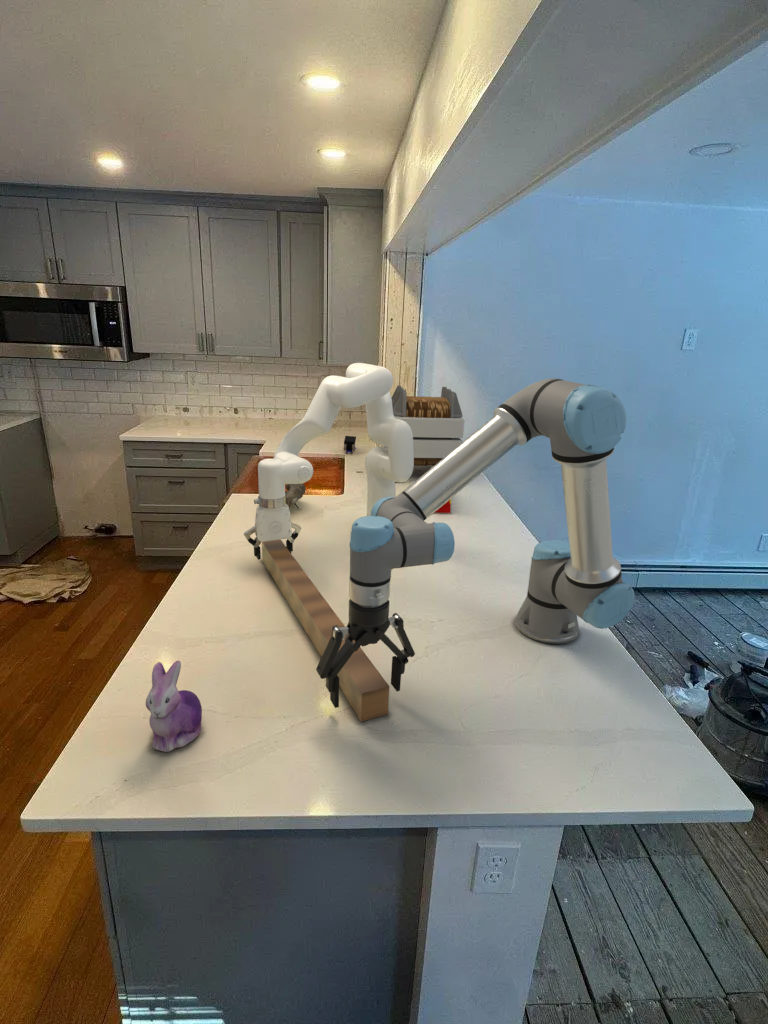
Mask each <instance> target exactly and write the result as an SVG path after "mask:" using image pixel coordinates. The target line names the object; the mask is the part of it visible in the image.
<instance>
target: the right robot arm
mask: <svg viewBox="0 0 768 1024" xmlns="http://www.w3.org/2000/svg"><path fill="white" fill-rule="evenodd" d="M626 426H627V414H626V409H625V406H624V404H623V402H622V400H621V399H620V397H618V395H617V394H615V393H614V392H613V391H611V390H609V389H606V388H603V387H601V386H598V385H596V384H595V385H594V384H591V383H589V384H588V383H587V384H585V383H579V382H575V381H569V380H565V379H561V378H554V377H553V378H546V379H541V380H538V381H536V382H533V383H531V384H529V385H527V386H526V387H524V388H522V389H521V390H519V391H517V392H516V393H515V394H513V395H511V396H510V397H508V398H507V399H506V400H505V401H504V402H502V403H501V404H500V405H498V406H497V407H496V408H495V409H494V410H493V417H491V418H490V419H489V420H488V421H487V422H486V423H484V424H483V425H482V426H480V427H479V428H478V429H477V430H476V431H475V432H473V433H472V434H471V435H470V436H468V437H467V438H466V439H465V440H464V441H463V443H461V444H460V445H459V446H458V447H457V448H455V449H454V450H453V451H452V452H450V453H449V454H448V455H447V456H446V457H444V458H443V459H442V460H441V461H439V462H438V463H437V464H436V465H435V466H431V468H429V469H428V470H427V471H426V472H424V473H425V474H422V475H421V476H419V477H418V478H417V479H416V480H415V481H414V482H413V483H412V484H410V485H409V486H408V487H406V488H405V489H404V490H403V491H402V492H400V493H399V494H398V495H397V496H395V498H393V497H385V498H381V499H380V500H378V501H377V502H376V503H375V504H374V506H373V508H372V511H371V516H367V515H365V516H360V517H358V518H356V519H355V520H354V521H353V523H352V524H351V531H350V537H349V538H350V539H349V585H348V590H349V591H348V598H349V599H348V622H347V625H346V626H345V627H341V628H339V627H338V626H337V625H335V626H333V627H332V634H331V638H330V640H329V642H328V644H327V647H326V649H325V651H324V653H323V655H322V657H321V656H320V660H319V662H318V664H317V665H316V668H315V670H316V672H317V674H318V676H319V678H320V679H322V680H324V679H325V687H326V690H327V691H328V693H329V700H330V702H331V704H332V705H333V707H334V709H336V708H339V707H340V687H339V677H338V676H337V674H338V673H339V672H340V670H341V669H342V667H343V666H344V665H345V663H346V662H347V661H348V659H349V658H350V657H351V655H352V654H353V653H354V652H355V651H357V650H358V649H359V647H361V648H362V647H366V646H368V645H375V644H378V642H379V641H381V642H382V643H383V644H384V645H385V646H386V647H387V648H388V649H389V650H390V651H391V652H392V653H393V654H394V655H393V656H392V657H391V671H390V672H391V674H390V685H391V686H392V687H393V689H394V690H395V692H400V691H401V682H402V681H401V680H402V675H403V674H405V673H406V672H405V671H406V665H407V664H408V663H409V658H413V657H415V655H416V652H415V650H414V648H413V645H412V643H411V640H410V639H409V637H408V635H407V632H406V630H405V628H404V627H405V625H404V619H403V618H402V617H401V615H399V614H398V613H397V612H394V613H393V614H392V615H391V617H390V595H391V579H392V570H395V569H402V568H408V567H409V568H410V567H419V566H428V565H431V566H432V565H435V564H439V563H444V562H447V561H449V560H451V558H452V557H453V555H454V552H455V545H456V543H455V535H454V532H453V530H452V528H451V527H450V525H448V524H447V523H446V522H436V521H433V522H430V523H428V522H426V520H427V519H428V518H429V517H430V516H432V515H433V514H434V512H435V511H437V510H438V509H439V508H440V507H441V506H443V505H444V504H445V503H446V502H447V501H449V500H450V499H451V500H452V498H454V497H455V496H456V495H458V493H460V492H461V491H462V490H463V489H465V488H466V487H468V486H469V485H470V484H471V483H472V482H473V481H474V480H475V479H477V478H478V477H480V475H481V474H483V473H484V472H486V470H488V469H489V468H490V467H491V466H492V465H494V464H495V463H496V462H498V460H500V459H501V458H503V456H505V455H506V454H507V453H509V452H510V451H511V450H512V449H513V448H514V447H516V446H524V445H526V444H527V443H528V442H529V441H531V440H532V439H534V438H537V437H540V436H543V437H546V438H548V439H549V440H550V450H551V458H552V459H553V460H554V461H555V462H557V463H558V464H559V465H560V468H561V470H560V471H561V479H562V489H563V497H564V509H565V516H566V525H567V526H566V527H567V535H568V541H567V540H558V539H557V540H556V539H555V540H554V539H553V540H544V541H541V542H539V543H537V544H536V545H535V546H534V548H533V551H532V552H533V553H532V556H531V561H530V570H529V579H528V585H527V593H526V597H525V598H524V600H523V602H522V604H521V606H520V608H519V610H518V612H517V615H516V616H515V617H516V618H515V626H516V628H517V630H518V631H519V632H520V633H521V634H522V635H524V636H526V637H527V638H529V639H531V640H534V641H536V642H540V643H543V644H549V645H561V644H562V645H564V644H568V643H571V642H573V641H574V640H576V638H577V637H578V635H579V620H578V618H580V619H581V620H583V622H584V623H587V624H589V625H591V626H592V627H594V628H596V629H601V630H604V629H609V628H611V627H614V626H616V625H617V624H619V623H620V622H621V621H622V620H624V618H626V616H627V615H628V614H629V612H630V611H631V609H632V607H633V606H634V602H635V591H634V588H632V586H630V584H629V583H628V582H624V581H623V577H622V575H623V573H622V565H621V562H620V561H619V559H617V558H616V557H614V555H613V539H612V523H611V509H610V493H609V479H608V464H607V463H608V462H607V460H608V458H610V457H611V456H612V455H613V453H614V452H615V447H616V446H617V445H618V444H619V442H620V441H621V439H622V436H621V435H622V434H623V433H625V430H626ZM390 626H391V627H392V628H393V629H394V631H395V633H396V635H397V638H398V640H399V642H400V644H401V647H402V648H403V649H400V648H399V647H398V646H397V645H396V643H394V642H393V641H392V640H391V638H390V637H389V636H388V635H387V634H386V632H387V631H388V629H389V628H390ZM346 634H349V635H348V636H347V638H346V639H345V638H344V637H345V635H346ZM344 639H345V643H344V645H343V646H342V647H341V649H340V650H339V648H340V646H341V643H342V640H344ZM353 640H354V641H355V643H353ZM338 650H339V651H338ZM337 652H338V653H337Z"/></svg>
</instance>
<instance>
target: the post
mask: <svg viewBox="0 0 768 1024" xmlns="http://www.w3.org/2000/svg"><path fill="white" fill-rule="evenodd" d="M261 551H262V552H261V553H262V554H261V557H262V558H261V560H262V563H263V564H264V566H265V567H266V569H267V570H268V572H269V574H270V576H271V577H272V579H273V581H274V583H275V584H276V586H277V587H278V589H279V591H280V592H281V593H282V595H283V597H284V599H285V600H286V602H287V603H288V605H289V607H290V608H291V610H292V612H293V614H294V615H295V616H296V618H297V620H298V621H299V623H300V625H301V626H302V628H303V630H304V631H305V633H306V634H307V636H308V639H310V641H311V643H312V645H313V646H314V648H315V649H316V651H317V653H318V654H319V655H320V658H321V657H322V655H323V653H324V651H325V649H326V647H327V644H328V642H329V640H330V638H331V634H332V627H333V626H335V625H337V626H338V627H339V628H341V627H346V626H345V624H344V623H343V622H342V620H341V619H340V618H339V616H338V615H337V613H336V612H335V611H334V609H333V608H332V607H331V605H330V604H329V603H328V601H327V600H326V598H325V597H324V596H323V595H322V593H321V592H320V591H319V589H318V588H317V587H316V585H315V583H314V582H313V581H312V580H311V578H310V577H309V576H308V575H307V573H306V572H305V570H304V569H303V567H302V566H301V564H299V562H298V561H297V559H296V558H295V557H294V555H293V554H292V552H291V553H290V552H289V550H288V549H287V548H286V544H285V543H284V542H283V541H282V539H281V540H274V541H265V542H261ZM348 635H349V634H346V635H345V637H344V638H345V639H346V638H347V636H348ZM345 639H344V640H342V643H341V646H340V648H339V650H340V649H341V647H342V646H343V645H344V643H345ZM353 643H355V641H354V640H353ZM339 650H338V651H339ZM337 653H338V652H337ZM337 676H338V677H339V689H340V690H341V692H342V694H343V695H344V697H345V698H346V700H347V701H348V703H349V705H350V707H351V708H352V709H353V711H354V713H355V714H356V716H357V718H358V719H359V721H360V723H361V722H365V721H369V720H372V719H377V718H379V717H384V716H386V715H388V714H389V704H390V703H389V702H390V701H389V700H390V685H389V684H388V682H387V681H386V680H385V679H384V677H383V675H382V674H381V673H380V672H379V670H378V669H377V668H376V666H375V664H373V662H372V661H371V660H370V658H369V657H368V655H367V654H366V653H365V651H364V650H363V649H362V646H360V647H359V649H358V650H357V651H355V652H354V653H353V654H352V655H351V657H350V658H349V659H348V661H347V662H346V663H345V665H344V666H343V667H342V669H341V670H340V672H339V673H338V674H337Z"/></svg>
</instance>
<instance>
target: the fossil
mask: <svg viewBox="0 0 768 1024" xmlns="http://www.w3.org/2000/svg"><path fill="white" fill-rule="evenodd" d="M306 492H307V491H306V486H305V483H302V484H286V485H285V504H287V505H288V507H289V510H290V509H291V508H292V507H294V506H295V507H296V508H297V509H299V510H300V507H299V506H298V504H297V503H298V501H299V500H301V499H302V498H303V496H304V495H305V494H306Z"/></svg>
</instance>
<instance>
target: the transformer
mask: <svg viewBox="0 0 768 1024" xmlns="http://www.w3.org/2000/svg"><path fill="white" fill-rule="evenodd" d="M440 393H441V394H440V396H415V395H414V396H413V395H412V396H411V395H407V394H408V393H407V390H406V389H404V388H403V387H402V385H399V384H398V385H397V386H396V388H395V390H394V392H393V394H392V395H391V398H392V406H393V415H394V417H395V418H396V419H400V420H403V421H405V422H406V423H407V424H408V425H409V426H410V428H411V430H412V434H413V453H414V467H415V466H416V467H417V466H418V467H433V466H435V465H436V464H437V463H438V462H439V461H441V460H442V459H443V458H444V457H446V456H447V455H448V454H449V453H450V452H452V451H453V450H454V449H455V448H457V447H458V446H459V445H460V444H461V443H463V442H464V441H463V440H462V439H463V438H464V431H465V430H464V429H465V419H464V418H463V411H462V408H461V405H460V402H459V398H458V395H457V392H455V391H453V390H452V389H451V388H447V386H442V387H441V392H440ZM386 448H387V447H386Z"/></svg>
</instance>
